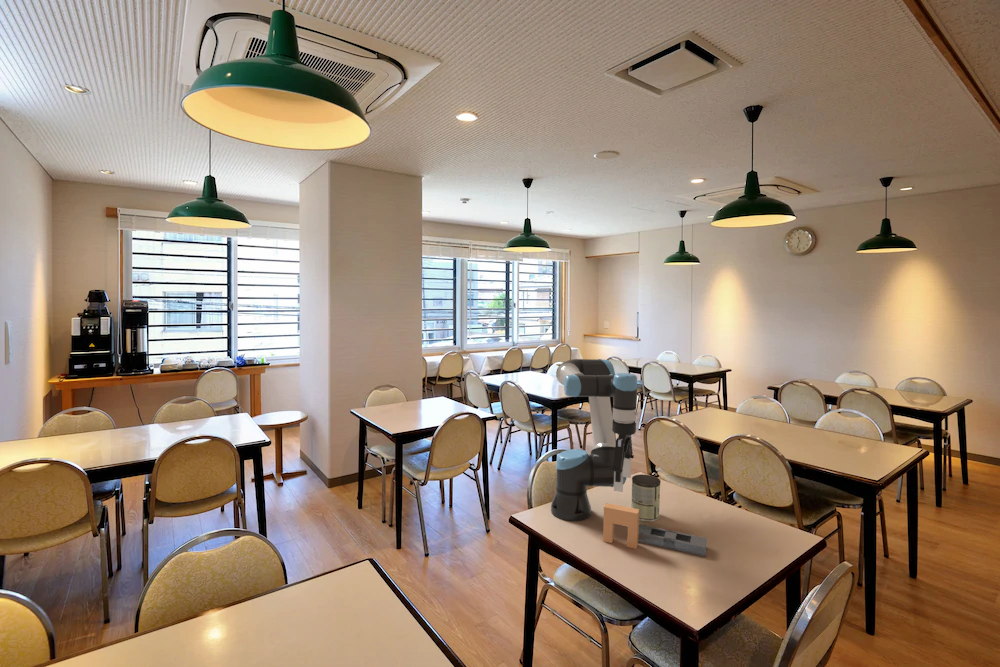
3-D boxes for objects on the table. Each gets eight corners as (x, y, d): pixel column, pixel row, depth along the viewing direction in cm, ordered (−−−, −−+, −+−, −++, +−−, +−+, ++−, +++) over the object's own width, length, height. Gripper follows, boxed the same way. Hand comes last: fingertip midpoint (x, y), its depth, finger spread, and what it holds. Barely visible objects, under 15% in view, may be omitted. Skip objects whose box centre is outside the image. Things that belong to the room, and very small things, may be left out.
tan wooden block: (602, 541, 160) (603, 506, 159) (605, 537, 163) (606, 503, 163) (636, 549, 155) (637, 513, 155) (638, 544, 159) (639, 509, 158)
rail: (634, 541, 161) (634, 532, 161) (638, 532, 167) (638, 523, 167) (705, 556, 151) (705, 547, 151) (706, 546, 158) (706, 538, 157)
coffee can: (628, 509, 186) (629, 473, 185) (655, 510, 185) (657, 474, 184) (633, 521, 176) (634, 483, 175) (662, 522, 174) (663, 485, 174)
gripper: (628, 431, 144) (626, 499, 145) (642, 414, 166) (640, 473, 168) (603, 428, 147) (602, 495, 148) (620, 411, 169) (618, 470, 171)
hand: (622, 483), depth 158 cm, fingers open, 13 cm apart
